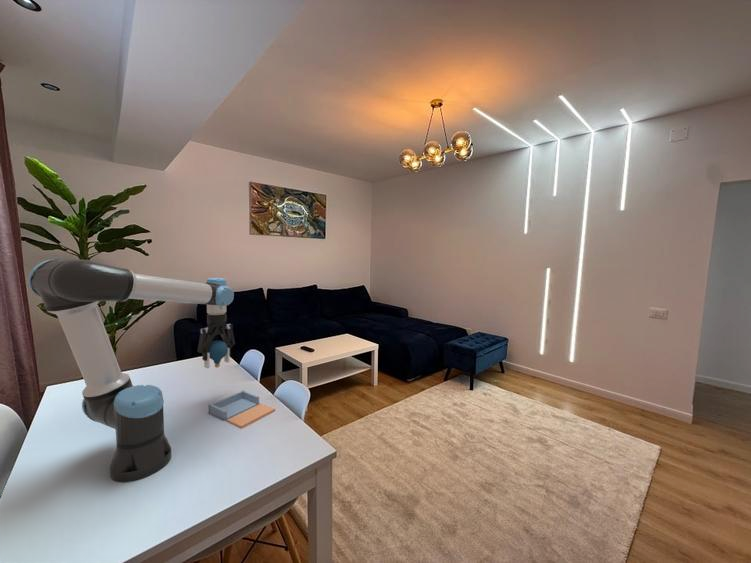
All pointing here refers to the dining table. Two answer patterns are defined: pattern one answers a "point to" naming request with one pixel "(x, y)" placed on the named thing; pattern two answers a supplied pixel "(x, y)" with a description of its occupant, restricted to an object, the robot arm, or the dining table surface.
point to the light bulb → (217, 351)
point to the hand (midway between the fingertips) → (217, 364)
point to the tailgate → (250, 415)
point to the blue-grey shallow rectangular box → (233, 405)
